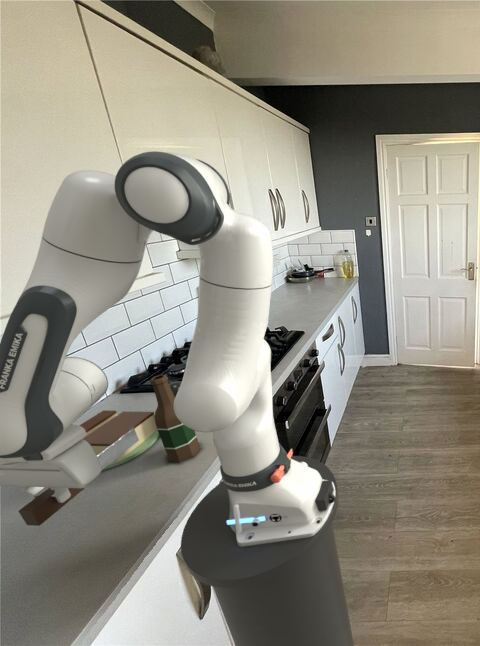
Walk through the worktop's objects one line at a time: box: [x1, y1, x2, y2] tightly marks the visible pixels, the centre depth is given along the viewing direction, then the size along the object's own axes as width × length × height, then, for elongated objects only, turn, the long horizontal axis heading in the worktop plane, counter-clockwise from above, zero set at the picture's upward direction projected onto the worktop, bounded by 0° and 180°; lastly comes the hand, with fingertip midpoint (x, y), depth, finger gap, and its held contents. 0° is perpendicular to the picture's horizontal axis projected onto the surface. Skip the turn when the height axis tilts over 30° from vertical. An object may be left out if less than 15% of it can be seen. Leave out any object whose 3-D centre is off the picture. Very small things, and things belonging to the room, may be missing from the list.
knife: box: [17, 428, 139, 527], centre depth 70 cm, size 2×22×4 cm, turn 177°
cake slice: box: [78, 410, 119, 438], centre depth 99 cm, size 4×14×6 cm, turn 175°
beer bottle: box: [149, 374, 201, 463], centre depth 92 cm, size 8×8×24 cm
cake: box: [83, 411, 160, 471], centre depth 98 cm, size 20×20×7 cm
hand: (53, 499), depth 64 cm, fingers closed on knife, 2 cm apart
